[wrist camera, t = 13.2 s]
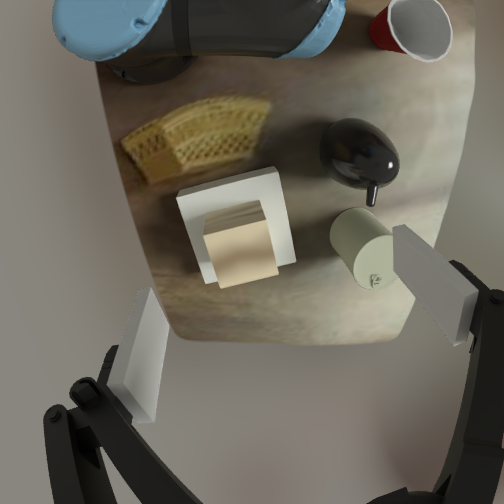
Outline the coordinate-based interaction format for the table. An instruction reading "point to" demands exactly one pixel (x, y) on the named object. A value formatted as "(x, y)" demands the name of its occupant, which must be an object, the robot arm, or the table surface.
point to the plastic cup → (413, 29)
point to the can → (364, 248)
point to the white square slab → (232, 194)
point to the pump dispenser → (359, 156)
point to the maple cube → (239, 244)
